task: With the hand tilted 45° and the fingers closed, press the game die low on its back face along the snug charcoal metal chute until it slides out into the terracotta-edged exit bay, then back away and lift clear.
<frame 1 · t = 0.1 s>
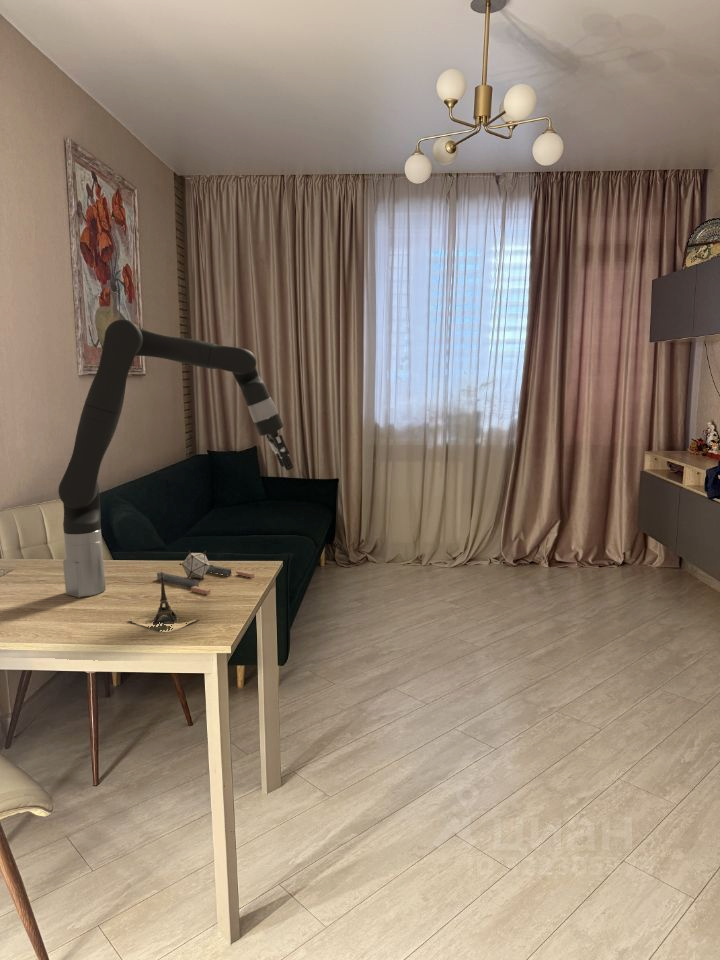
hand: (287, 467, 184), 31 cm above the table, tool tilted 20°, fingers open, 8 cm apart
chute: (194, 577, 184), on the table
eiffel tower figurine: (163, 623, 150), on the table
exit bay: (224, 584, 177), on the table
game die: (197, 578, 183), on the table
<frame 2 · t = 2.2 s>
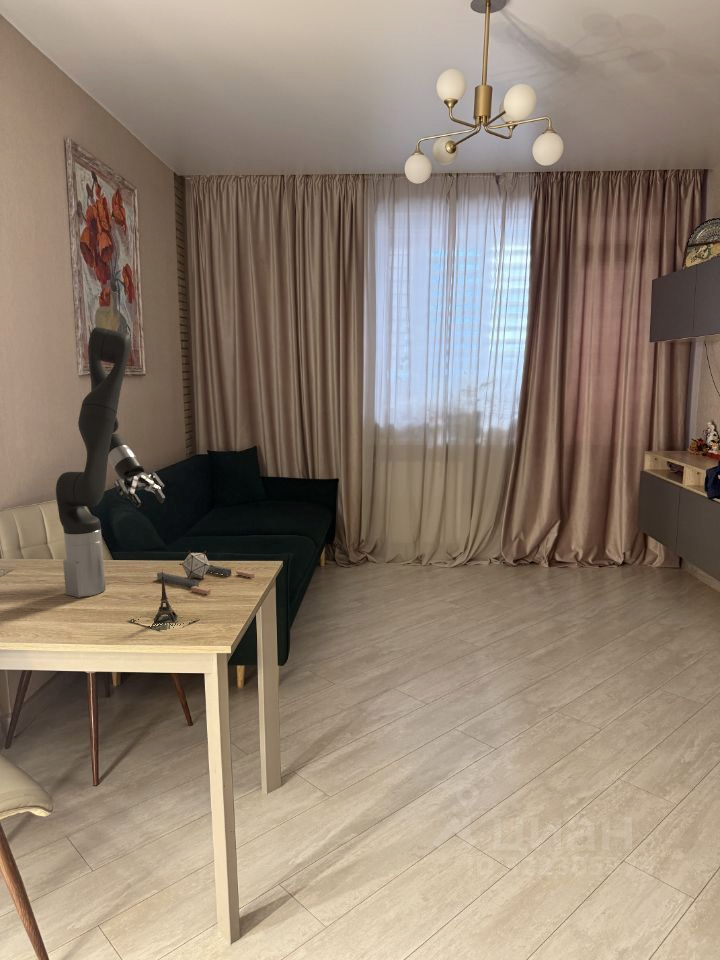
hand: (151, 503, 190), 21 cm above the table, tool tilted 45°, fingers open, 8 cm apart
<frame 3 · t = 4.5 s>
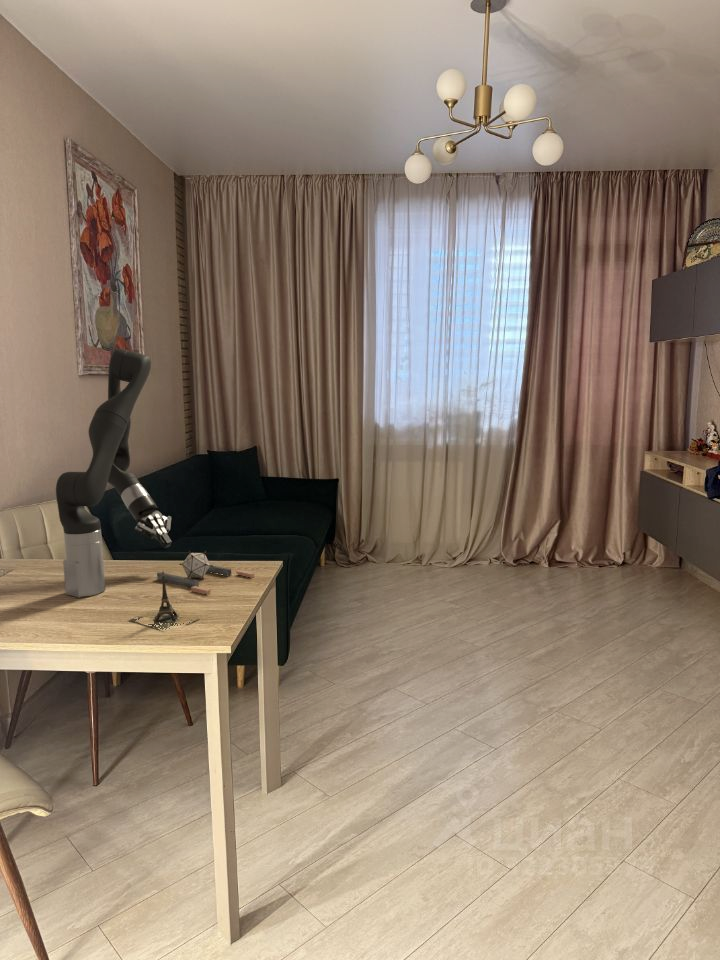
hand: (168, 545, 189), 8 cm above the table, tool tilted 45°, fingers closed
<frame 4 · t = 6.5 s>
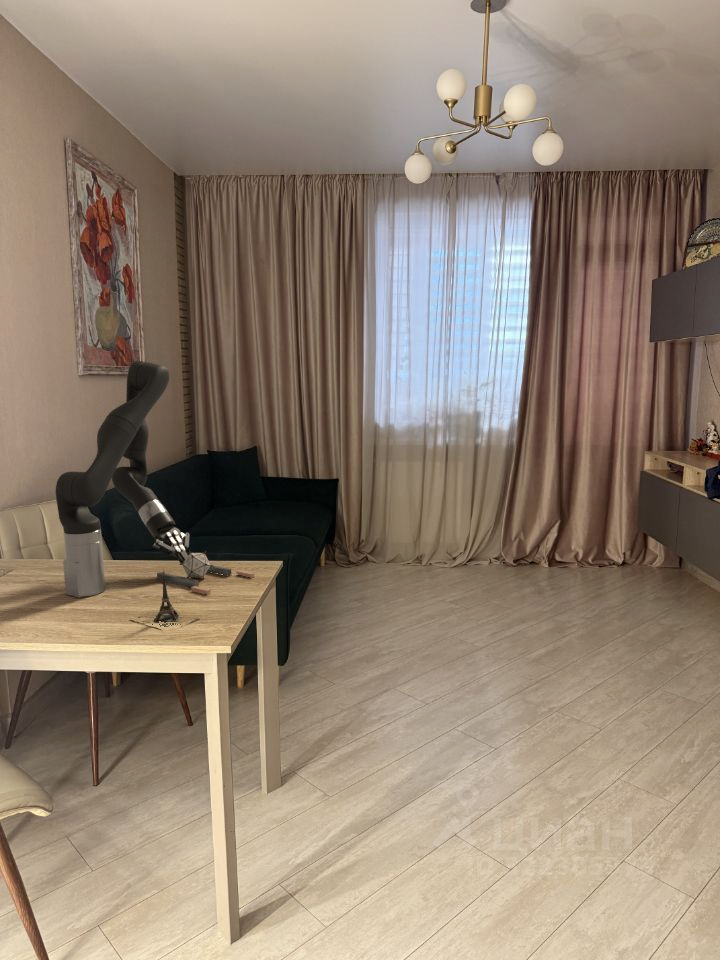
hand: (187, 563, 185), 4 cm above the table, tool tilted 45°, fingers closed
game die: (197, 578, 183), on the table, touching gripper
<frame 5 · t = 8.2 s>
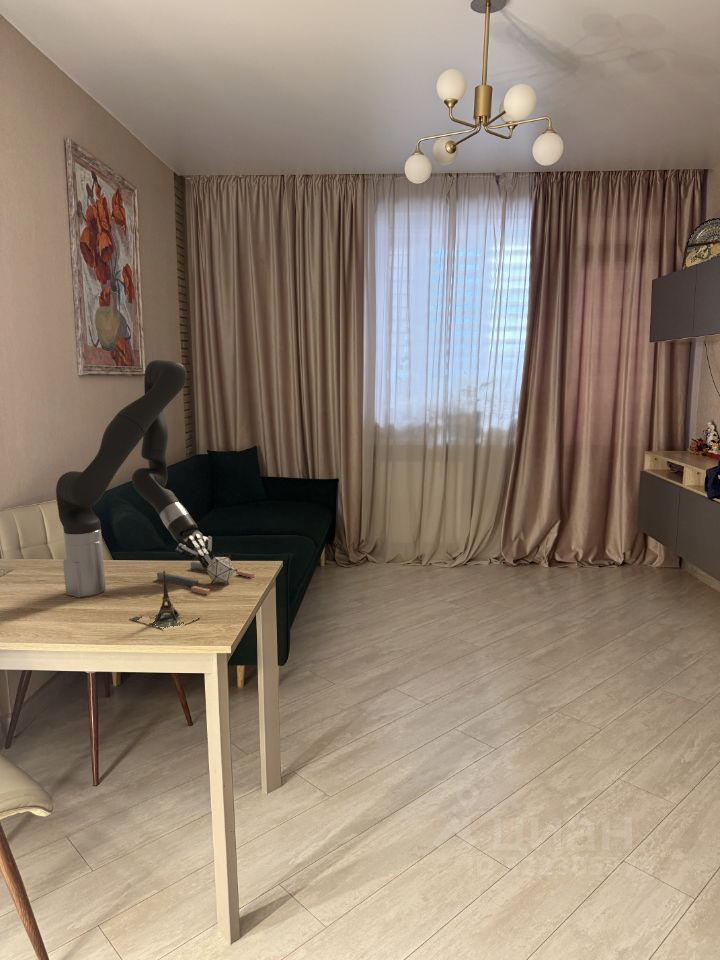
hand: (210, 567, 180), 4 cm above the table, tool tilted 45°, fingers closed
game die: (221, 583, 178), on the table, touching gripper
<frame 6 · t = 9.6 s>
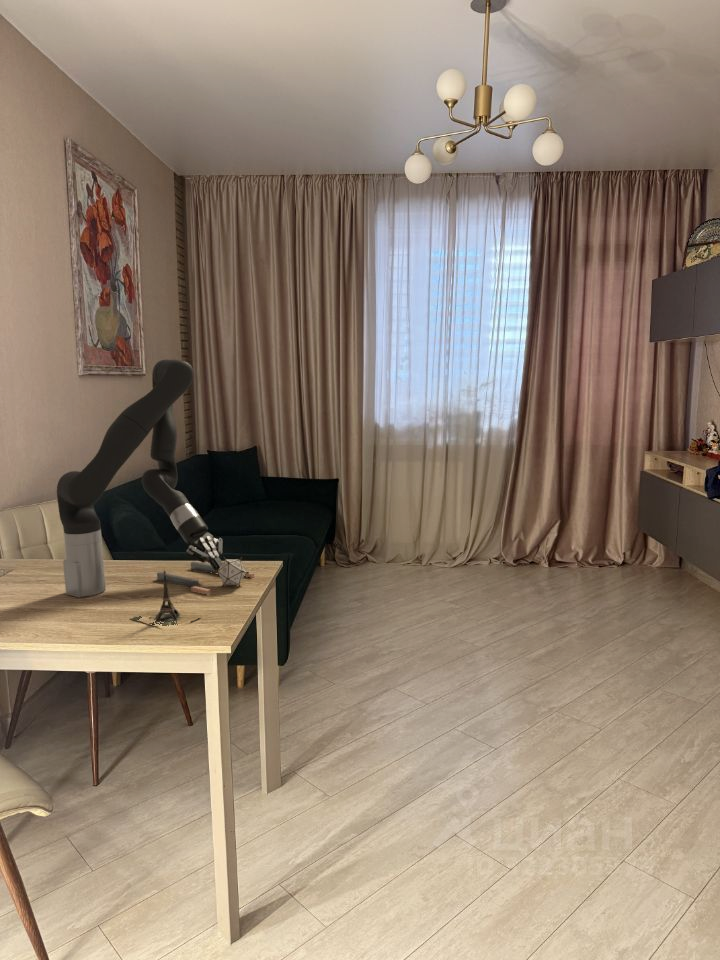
hand: (221, 570, 178), 4 cm above the table, tool tilted 45°, fingers closed
game die: (232, 586, 176), on the table, touching gripper
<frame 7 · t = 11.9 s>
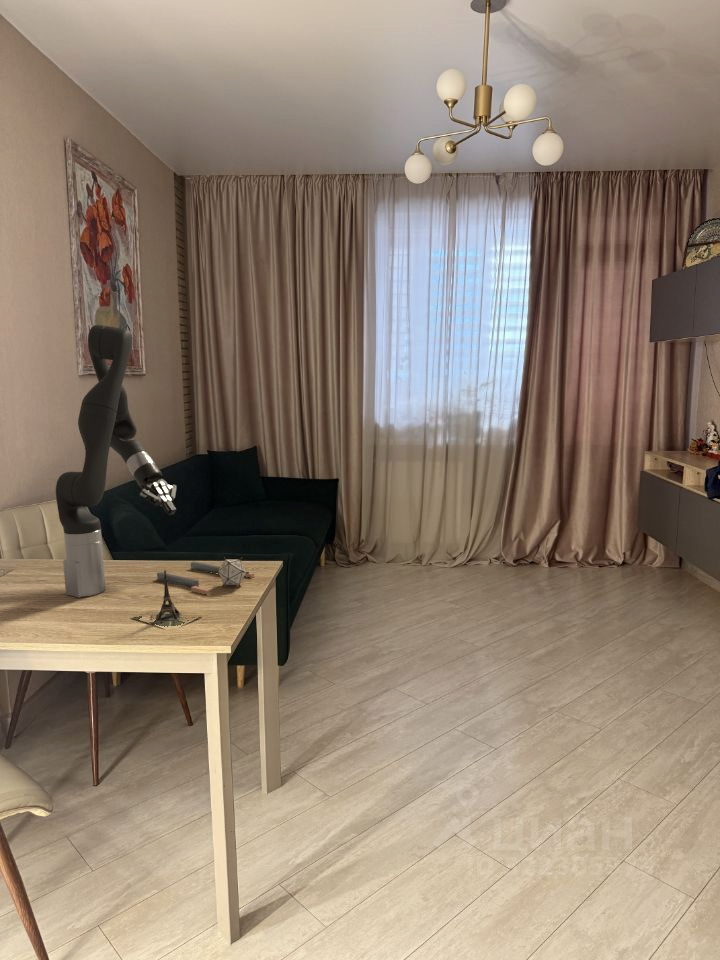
hand: (172, 513, 187), 18 cm above the table, tool tilted 45°, fingers closed
game die: (232, 586, 176), on the table
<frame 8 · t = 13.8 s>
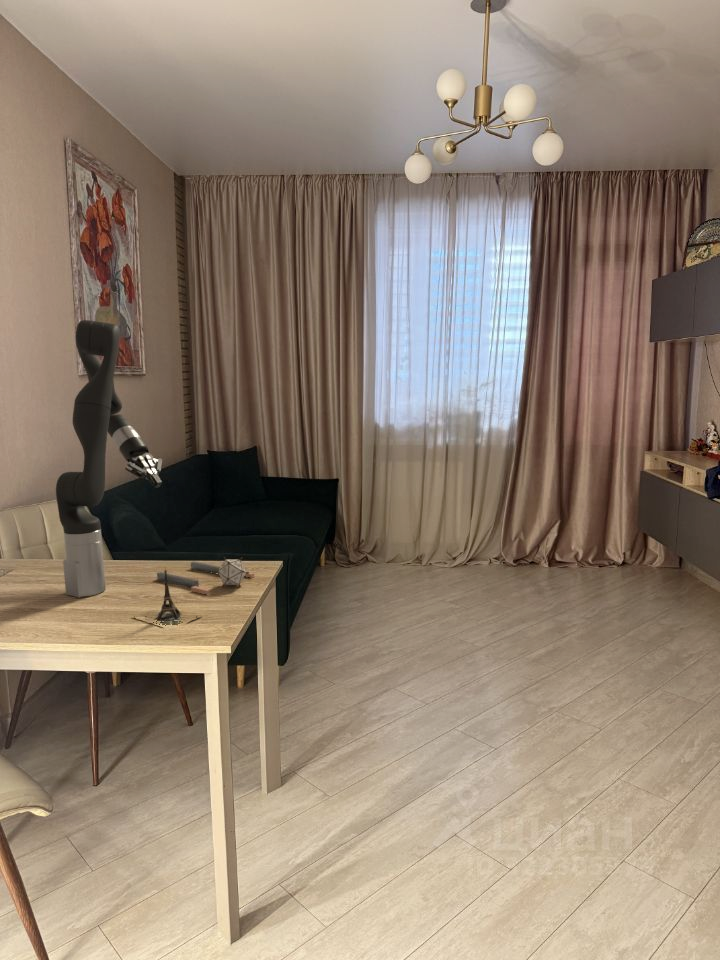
hand: (158, 485, 190), 26 cm above the table, tool tilted 45°, fingers closed
at the end: game die inside the target area (1.5 cm from its centre), on the table; game die tilted 1° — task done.
